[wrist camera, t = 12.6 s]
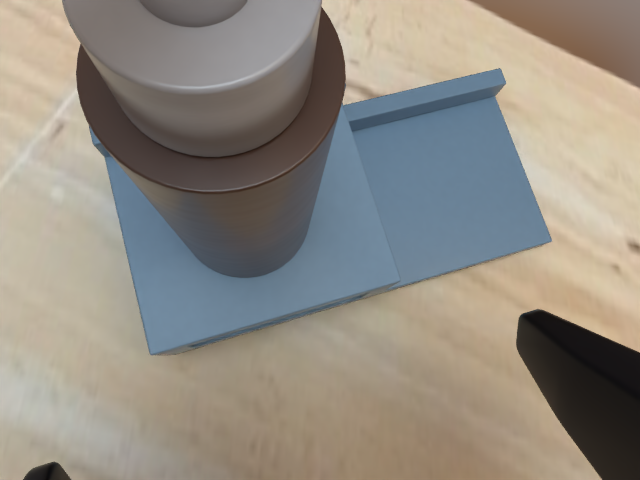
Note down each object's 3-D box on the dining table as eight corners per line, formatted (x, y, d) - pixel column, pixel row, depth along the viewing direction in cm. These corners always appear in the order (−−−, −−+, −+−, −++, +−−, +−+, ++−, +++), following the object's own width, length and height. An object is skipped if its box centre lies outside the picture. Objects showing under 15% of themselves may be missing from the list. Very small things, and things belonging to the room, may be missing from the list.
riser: (543, 245, 23) (619, 214, 18) (173, 355, 21) (140, 356, 16) (482, 90, 24) (536, 21, 19) (130, 175, 22) (87, 123, 17)
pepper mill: (333, 197, 18) (449, -109, 6) (263, 303, 17) (235, 187, 5) (228, 131, 19) (138, -292, 6) (153, 232, 18) (-126, -43, 5)
